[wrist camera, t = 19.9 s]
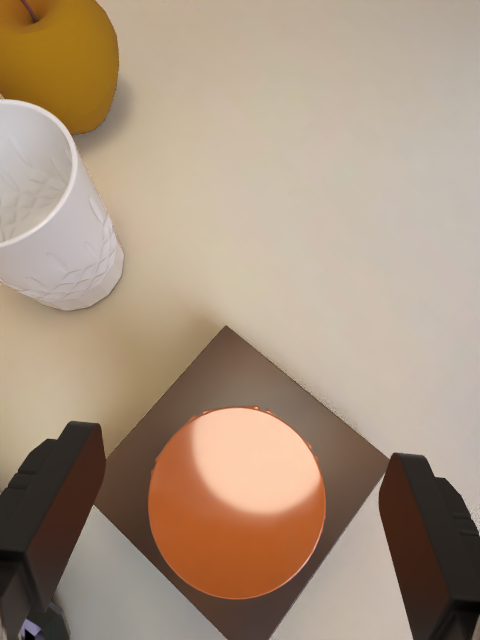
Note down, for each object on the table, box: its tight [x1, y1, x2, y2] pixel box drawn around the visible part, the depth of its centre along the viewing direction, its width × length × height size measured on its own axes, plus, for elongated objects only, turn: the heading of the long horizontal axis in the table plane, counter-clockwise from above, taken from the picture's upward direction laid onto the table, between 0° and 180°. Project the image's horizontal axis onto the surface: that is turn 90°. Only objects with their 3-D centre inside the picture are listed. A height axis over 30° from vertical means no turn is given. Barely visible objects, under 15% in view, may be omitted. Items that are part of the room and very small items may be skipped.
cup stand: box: [94, 326, 390, 640], centre depth 20 cm, size 12×12×8 cm
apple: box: [0, 0, 119, 135], centre depth 27 cm, size 8×8×9 cm
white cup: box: [0, 99, 124, 311], centre depth 22 cm, size 8×8×10 cm
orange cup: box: [148, 406, 326, 599], centre depth 18 cm, size 6×6×8 cm
